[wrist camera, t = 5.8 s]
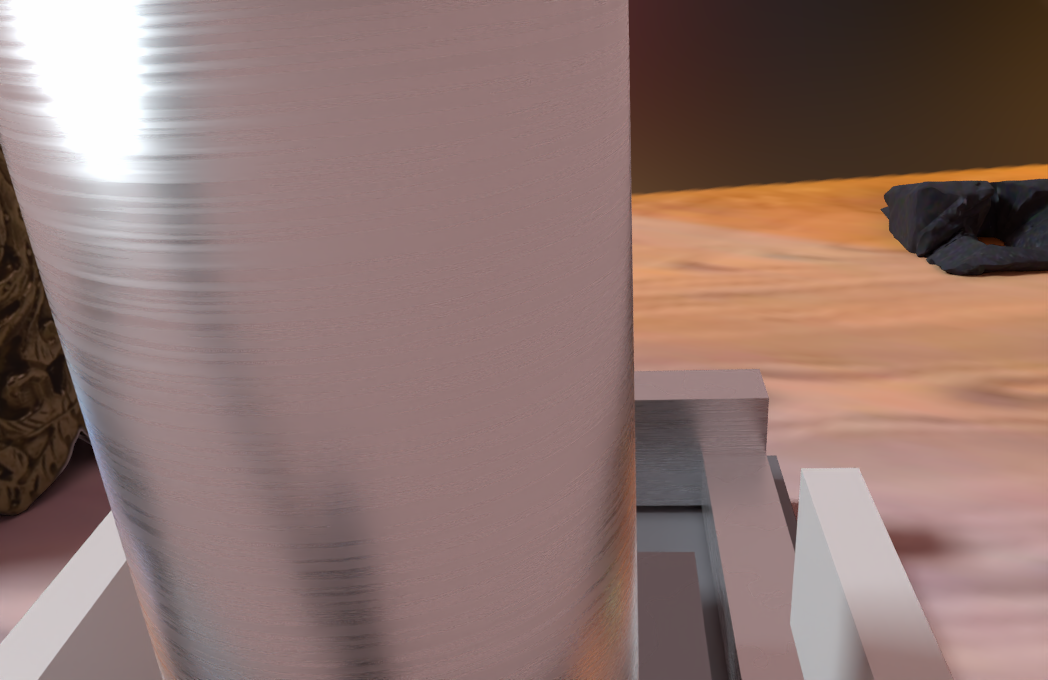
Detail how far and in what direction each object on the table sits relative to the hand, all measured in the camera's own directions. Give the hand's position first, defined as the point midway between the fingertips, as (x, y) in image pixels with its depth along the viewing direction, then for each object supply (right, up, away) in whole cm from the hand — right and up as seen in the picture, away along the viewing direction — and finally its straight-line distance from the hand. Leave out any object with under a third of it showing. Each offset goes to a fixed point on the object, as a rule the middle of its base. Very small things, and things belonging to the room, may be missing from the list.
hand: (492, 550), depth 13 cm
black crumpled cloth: (+35, +9, +46) cm, 58 cm away
